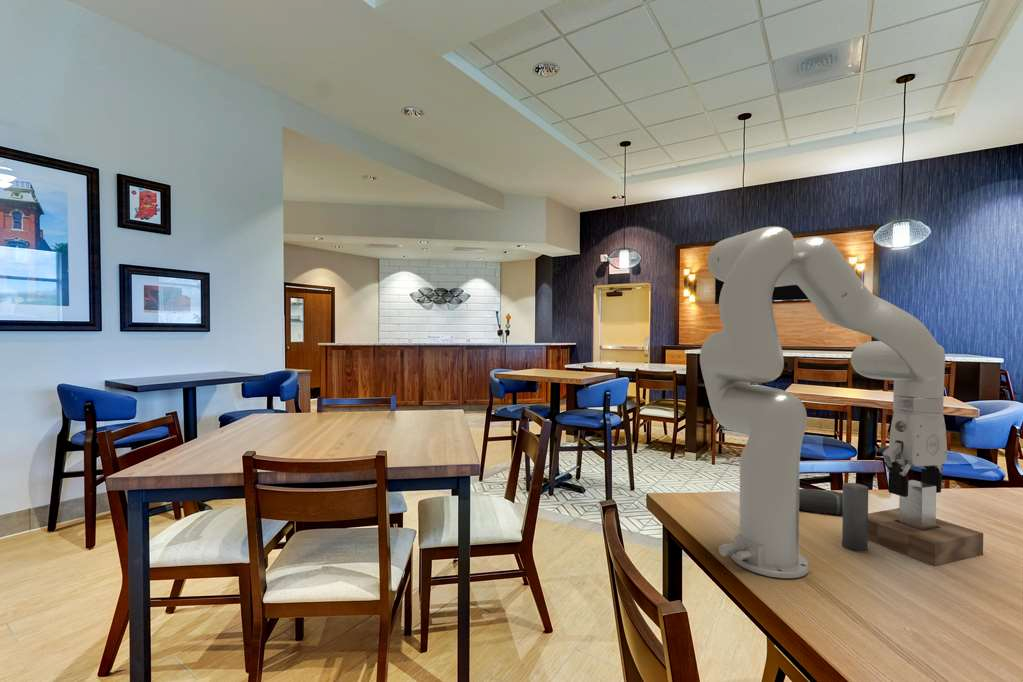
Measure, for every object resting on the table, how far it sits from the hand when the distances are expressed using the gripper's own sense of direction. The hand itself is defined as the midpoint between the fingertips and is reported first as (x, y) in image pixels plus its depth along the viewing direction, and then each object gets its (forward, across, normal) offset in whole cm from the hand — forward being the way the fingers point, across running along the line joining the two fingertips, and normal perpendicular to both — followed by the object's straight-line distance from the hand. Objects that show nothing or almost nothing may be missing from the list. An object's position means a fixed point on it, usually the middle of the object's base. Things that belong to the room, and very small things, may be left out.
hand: (914, 492), depth 94 cm
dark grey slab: (+11, -6, +20) cm, 23 cm away
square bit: (+10, +1, 0) cm, 10 cm away
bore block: (+10, +1, 0) cm, 10 cm away
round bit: (+11, -12, +3) cm, 16 cm away
